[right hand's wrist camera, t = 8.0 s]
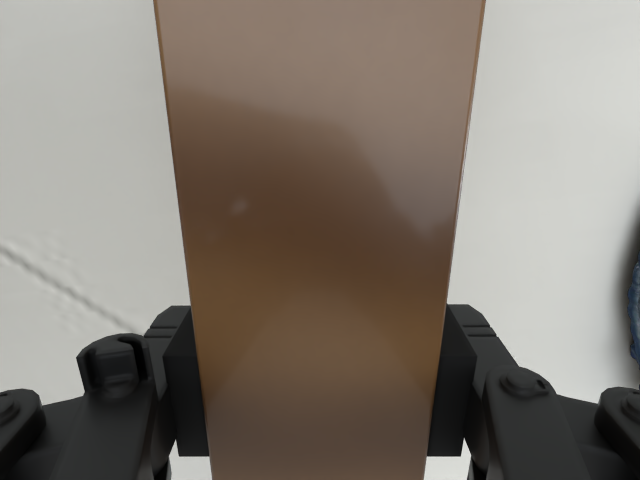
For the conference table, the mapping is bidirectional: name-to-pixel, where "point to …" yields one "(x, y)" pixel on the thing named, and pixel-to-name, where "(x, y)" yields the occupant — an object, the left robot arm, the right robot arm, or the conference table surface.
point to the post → (318, 222)
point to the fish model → (635, 311)
